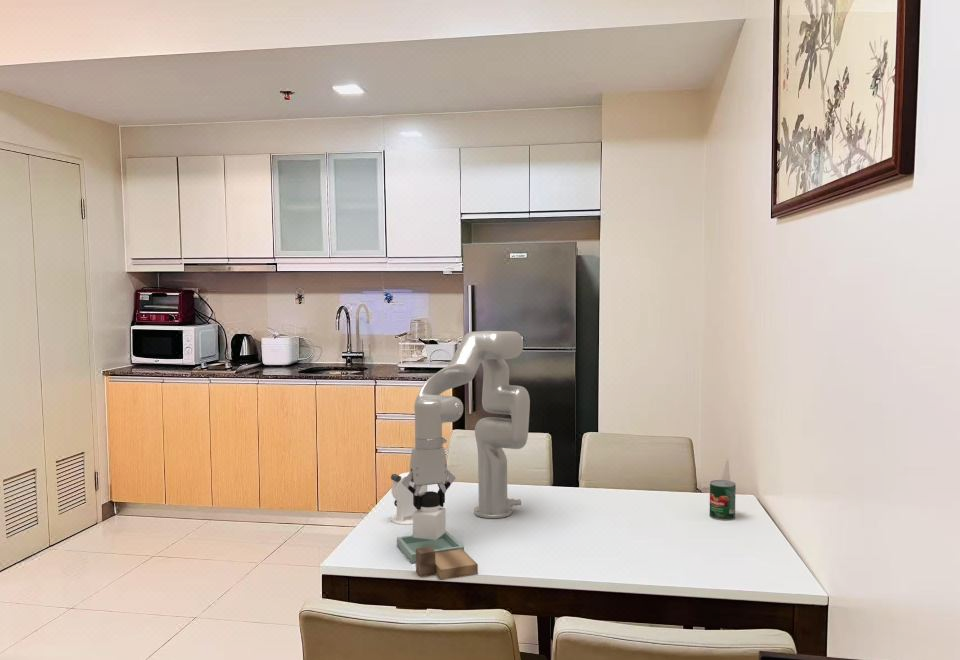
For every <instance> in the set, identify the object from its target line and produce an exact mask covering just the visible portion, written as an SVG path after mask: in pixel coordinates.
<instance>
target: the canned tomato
mask: <svg viewBox="0 0 960 660" xmlns="http://www.w3.org/2000/svg"><path fill="white" fill-rule="evenodd" d="M736 485H737V484H736V482H733V481H731V480H725V479H713V480H710V481H709V515H708V516H709V517H710V518H711V519H714V520H716V521H732V520H736V519H735V518H736V491H737V490H736Z"/></svg>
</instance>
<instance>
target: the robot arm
mask: <svg viewBox="0 0 960 660" xmlns="http://www.w3.org/2000/svg"><path fill="white" fill-rule="evenodd" d="M523 350H524V340H523V336H522V335H521V334H520V333H519V332H518V331H511V330H510V331H509V330H507V331H506V330H504V331H503V330H482V331H471V332H470V331H469V332H467V333H466V334H464V335H463V337H462V339H461V341H460V343H459V345H458V347H457V348H456V351H455V352H454V354H453V356H452V357H451V360H450V362H449V364H448V365H446V366H445V367H444V368H442V369H440V370H439V371H437V372H436V373H434V374H433V375H431V376H430V377H429V378H428V379H427V380H426V381H425V382H424V383H423V385H422V387H421V388H420V390H419V392H418V394H417V396H416V399H415V402H414V406H413V408H414V409H413V410H414V444H415V445H414V447H412V449H411V453H410V461H409V472H410V473H409V474H408V475H407V477H406V478H405V479H404V480H403V481H402V484H403V485H404V486H405V487H406V488H407V489H408V490H409V491H411V492H412V493H413V505H414V506H415V508H416V509H417V510H420V509H421V500H420V495H419V492H420V489H421V486H422V485H427V486H431V485H437V487H438V490H437V493H439V495H440V508H444V504H445V503H446V494H445V493H446V492H447V490H448V489H449V488H450V487H451V485H452V484H453V482H455V480H456V479H457V478H456V476H455V475H454V474H452V473H451V471H449V470H448V462H447V455H446V449H445V447H444V444H446V443H447V442H448V439H447V438H446V437H443V424H446V423H455V422H456V421H459V419H460V418H461V417H462V416H463V413H464V404H463V402H462V400H461V399H460V398H458V397H456V396H452V395H443V393H444V392H446V391H448V390H452V389H454V388H457V387H460V386H462V385H463V386H464V385H466V384H468V383H470V382H472V381H473V379H474V378H475V376H476V374H477V371H478V370H479V368H480V366H481V365H482V370H483V377H482V378H483V379H482V382H483V383H482V393H481V395H482V396H481V406H482V408H483V410H484V411H485V412H487V413H490V414H500V415H510V417H511V418H504V417H495V416H494V417H493V416H492V417H491V416H490V417H489V416H487V417H483V418H480V419H479V420H478V421H477V422H476V424H475V427H474V436H475V441H476V447H477V458H478V461H477V462H478V464H477V465H478V468H477V471H478V473H477V474H478V475H477V477H478V478H477V479H478V480H477V481H478V506H476V507H475V508H474V509H473V515H475V516H477V517H480V518H485V519H502V518H506V517H509V516H510V515H512V513H513V509H512V508H513V507H514V506H515V507H516V506H521V505H522V501H521V499H520V498H519V499H515V498H508V458H507V455H506V453H505V451H504V450H503V449H511V450H521V449H523V448H524V447H525V446H526V444H527V442H528V437H529V423H530V410H531V409H530V408H531V407H530V405H531V404H530V403H531V399H530V394H529V392H528V390H527V388H526V387H524V386H521V385H515V384H514V385H512V384H510V367H509V365H508V363H507V362H506V360H509V359H510V360H511V359H516V358H518V357H519V356H520V355H521V354H522V352H523ZM410 481H411V482H414V486H413V487H412V486H411V485H410V484H409V482H410Z"/></svg>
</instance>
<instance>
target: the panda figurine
mask: <svg viewBox="0 0 960 660" xmlns="http://www.w3.org/2000/svg"><path fill="white" fill-rule="evenodd" d="M409 473H410V471H408V472H403V473H400V474H399V475H398V474H397V473H392V474H391V476H390V479H391V480H392V484H391V495H392V497H393V498H394V499H395V500H394V502H393V503H394V506H395V507H396V514H395V515H393V516H392V517H391V518H390V521H391V522H392V523H393V524H396V525H402V526H413V513H414V512H415V511H416V510H417V509H416V508H415V506H414V505H413V493H412V492H411V491H409V490H408V489H407V488H406V487H405V486H404V485H403V484H402V481H403V480H404V479H405V478H406V477H407V475H408V474H409ZM409 484H410V485H411V486H412V487H413V486H414V482H411V481H410V482H409ZM427 491H428V485H422V486H421V489H420V492H419V494H421V493H423V492H427Z"/></svg>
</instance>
